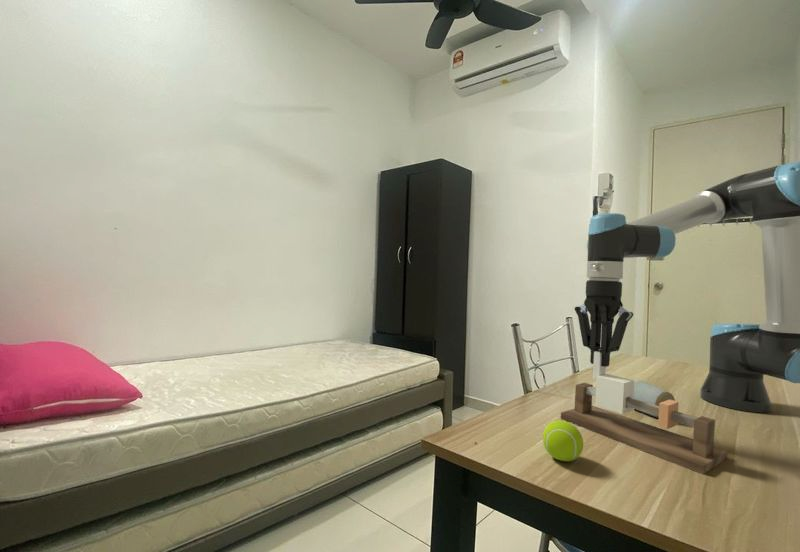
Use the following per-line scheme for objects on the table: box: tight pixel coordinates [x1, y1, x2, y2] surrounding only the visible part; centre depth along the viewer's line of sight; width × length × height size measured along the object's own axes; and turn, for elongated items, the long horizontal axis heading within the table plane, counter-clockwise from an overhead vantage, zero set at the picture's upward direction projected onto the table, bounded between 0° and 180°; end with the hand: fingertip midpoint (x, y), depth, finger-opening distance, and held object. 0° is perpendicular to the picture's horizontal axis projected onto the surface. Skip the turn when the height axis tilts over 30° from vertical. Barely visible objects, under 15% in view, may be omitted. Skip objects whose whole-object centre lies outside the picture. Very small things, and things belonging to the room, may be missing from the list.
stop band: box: [657, 400, 679, 430], centre depth 76 cm, size 5×2×5 cm, turn 124°
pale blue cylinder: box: [633, 380, 676, 419], centre depth 96 cm, size 11×8×8 cm
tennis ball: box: [542, 419, 584, 462], centre depth 70 cm, size 7×7×7 cm
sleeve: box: [594, 373, 635, 415], centre depth 85 cm, size 5×6×7 cm
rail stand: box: [560, 382, 728, 475], centre depth 81 cm, size 12×28×8 cm, turn 33°
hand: (598, 378), depth 88 cm, fingers closed
